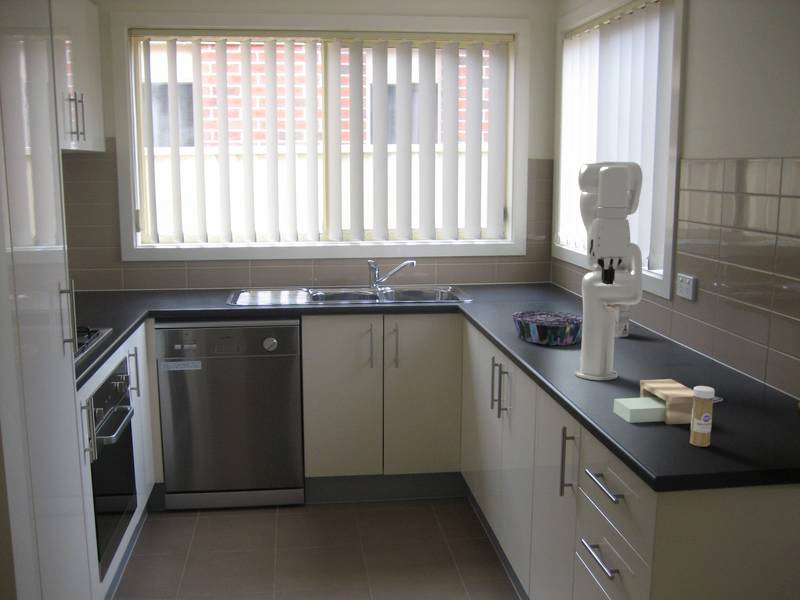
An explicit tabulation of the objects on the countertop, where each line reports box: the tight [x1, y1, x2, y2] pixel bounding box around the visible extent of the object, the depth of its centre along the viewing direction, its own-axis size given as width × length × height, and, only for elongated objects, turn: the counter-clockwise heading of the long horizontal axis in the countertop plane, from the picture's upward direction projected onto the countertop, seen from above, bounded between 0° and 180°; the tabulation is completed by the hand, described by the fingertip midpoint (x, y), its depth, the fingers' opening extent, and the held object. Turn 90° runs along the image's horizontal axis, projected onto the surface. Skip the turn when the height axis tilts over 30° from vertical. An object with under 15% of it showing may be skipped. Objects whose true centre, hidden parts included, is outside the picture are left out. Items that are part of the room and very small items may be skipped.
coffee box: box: [607, 304, 631, 339], centre depth 312 cm, size 9×6×16 cm
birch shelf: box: [639, 378, 694, 425], centre depth 218 cm, size 16×9×7 cm, turn 12°
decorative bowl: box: [511, 310, 583, 346], centre depth 304 cm, size 26×28×10 cm
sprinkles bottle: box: [689, 385, 715, 447], centre depth 195 cm, size 5×5×14 cm
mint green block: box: [613, 397, 666, 424], centre depth 217 cm, size 9×16×4 cm, turn 101°
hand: (607, 283), depth 224 cm, fingers closed
